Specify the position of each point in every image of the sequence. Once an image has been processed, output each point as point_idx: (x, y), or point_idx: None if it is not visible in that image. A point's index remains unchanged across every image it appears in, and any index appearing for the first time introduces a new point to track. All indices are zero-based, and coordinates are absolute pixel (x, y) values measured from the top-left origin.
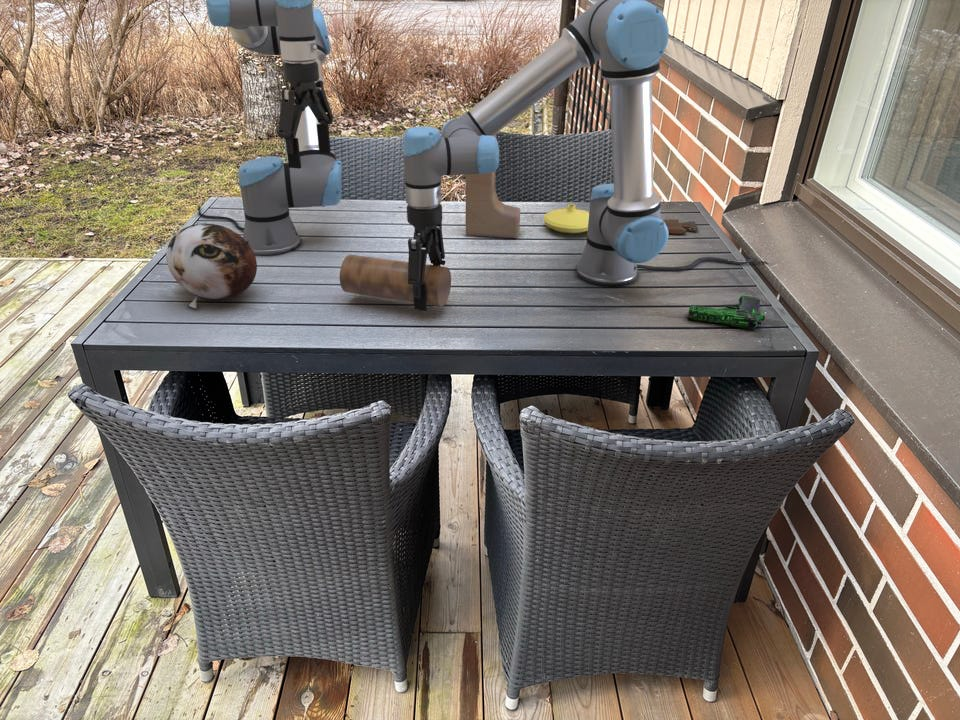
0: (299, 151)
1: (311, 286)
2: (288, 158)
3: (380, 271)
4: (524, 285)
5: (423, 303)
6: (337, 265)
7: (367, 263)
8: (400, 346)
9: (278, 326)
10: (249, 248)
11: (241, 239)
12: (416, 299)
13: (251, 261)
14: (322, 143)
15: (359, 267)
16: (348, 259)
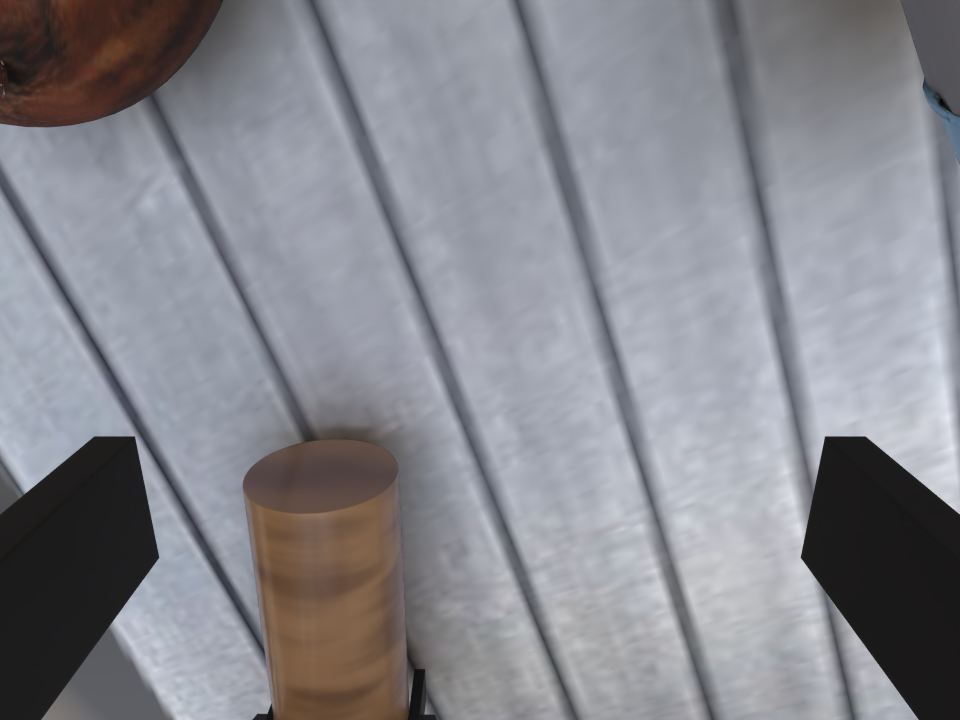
0: (47, 709)
1: (378, 241)
2: (27, 502)
3: (270, 645)
4: None
5: None
6: (603, 238)
7: (282, 603)
8: (146, 656)
9: (53, 300)
10: (61, 76)
11: (13, 21)
12: None
13: (46, 121)
14: (878, 564)
15: (263, 572)
16: (280, 529)
